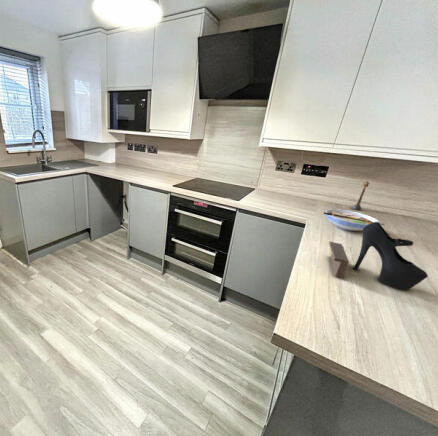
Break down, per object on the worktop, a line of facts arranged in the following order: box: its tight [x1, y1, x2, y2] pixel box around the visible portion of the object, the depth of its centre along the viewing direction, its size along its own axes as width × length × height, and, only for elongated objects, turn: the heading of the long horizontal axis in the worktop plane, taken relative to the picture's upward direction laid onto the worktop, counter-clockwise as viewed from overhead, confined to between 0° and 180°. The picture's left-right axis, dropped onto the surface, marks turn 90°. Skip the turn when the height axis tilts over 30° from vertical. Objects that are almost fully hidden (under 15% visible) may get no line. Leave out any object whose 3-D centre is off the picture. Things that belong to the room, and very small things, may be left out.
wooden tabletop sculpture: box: [351, 180, 370, 211], centre depth 162 cm, size 6×5×20 cm
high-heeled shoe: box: [352, 222, 428, 291], centre depth 81 cm, size 8×19×20 cm, turn 36°
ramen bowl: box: [323, 208, 385, 232], centre depth 129 cm, size 25×23×8 cm
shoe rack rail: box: [328, 241, 350, 279], centre depth 90 cm, size 4×16×7 cm, turn 149°
